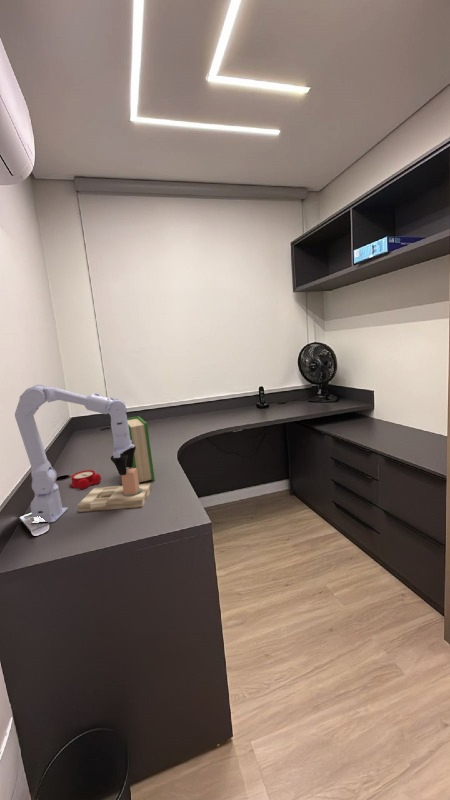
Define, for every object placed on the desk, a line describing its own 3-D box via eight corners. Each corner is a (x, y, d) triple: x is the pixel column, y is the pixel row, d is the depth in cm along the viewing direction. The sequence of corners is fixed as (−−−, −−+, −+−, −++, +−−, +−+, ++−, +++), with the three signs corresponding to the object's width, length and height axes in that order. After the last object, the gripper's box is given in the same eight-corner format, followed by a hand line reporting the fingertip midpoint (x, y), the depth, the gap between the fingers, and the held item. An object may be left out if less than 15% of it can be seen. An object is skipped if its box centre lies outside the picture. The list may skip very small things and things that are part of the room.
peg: (136, 494, 121) (133, 472, 120) (124, 495, 121) (120, 473, 120) (139, 488, 126) (136, 468, 124) (127, 489, 126) (124, 469, 125)
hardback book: (154, 480, 139) (146, 423, 135) (136, 485, 136) (127, 426, 133) (146, 468, 155) (138, 416, 151) (129, 472, 152) (121, 419, 149)
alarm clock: (88, 468, 152) (103, 466, 142) (91, 482, 152) (107, 481, 142) (64, 476, 145) (78, 475, 134) (68, 491, 145) (83, 490, 134)
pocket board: (142, 506, 117) (141, 499, 116) (78, 511, 118) (77, 504, 117) (151, 489, 131) (151, 483, 130) (95, 494, 132) (93, 487, 131)
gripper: (125, 438, 114) (131, 477, 116) (138, 428, 128) (142, 462, 130) (104, 440, 114) (110, 479, 116) (119, 429, 128) (124, 464, 131)
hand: (126, 470), depth 123 cm, fingers open, 7 cm apart
